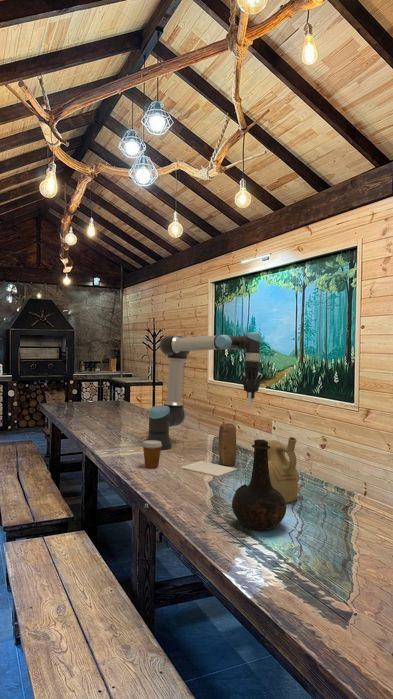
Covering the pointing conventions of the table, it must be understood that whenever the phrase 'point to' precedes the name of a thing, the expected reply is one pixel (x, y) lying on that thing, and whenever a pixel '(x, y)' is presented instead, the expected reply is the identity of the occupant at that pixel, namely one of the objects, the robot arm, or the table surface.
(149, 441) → the disposable coffee cup
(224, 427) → the block
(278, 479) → the ceramic vessel
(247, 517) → the glass bottle
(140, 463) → the table surface
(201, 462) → the mat
